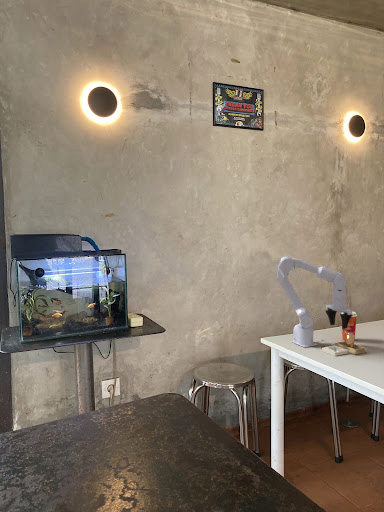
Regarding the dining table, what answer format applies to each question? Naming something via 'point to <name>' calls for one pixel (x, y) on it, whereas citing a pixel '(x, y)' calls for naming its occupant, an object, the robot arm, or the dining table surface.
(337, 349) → the white square frame
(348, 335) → the battery cell
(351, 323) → the paper cup
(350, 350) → the wooden trough
